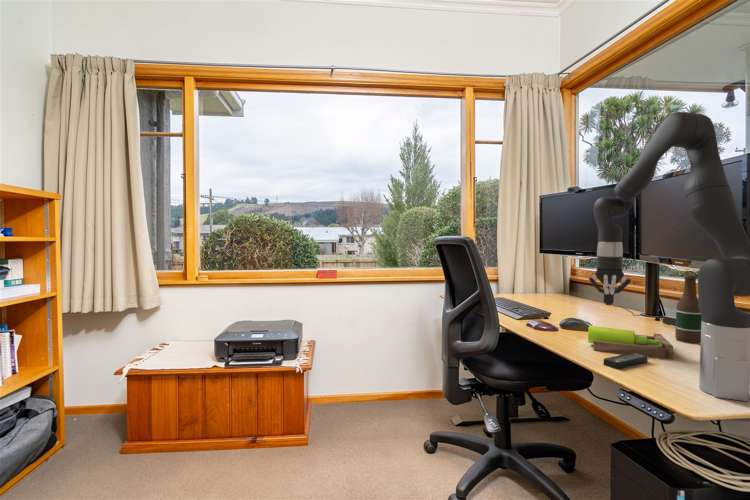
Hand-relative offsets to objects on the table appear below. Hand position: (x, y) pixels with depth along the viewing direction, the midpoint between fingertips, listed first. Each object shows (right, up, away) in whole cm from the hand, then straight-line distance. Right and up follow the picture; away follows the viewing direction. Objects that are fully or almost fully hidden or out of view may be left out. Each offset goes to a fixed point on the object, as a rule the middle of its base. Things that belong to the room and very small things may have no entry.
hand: (608, 304), depth 132 cm
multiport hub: (-5, -16, -17) cm, 24 cm away
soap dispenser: (-6, -11, +2) cm, 12 cm away
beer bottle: (+33, -14, +6) cm, 36 cm away
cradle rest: (+5, -15, -2) cm, 16 cm away
